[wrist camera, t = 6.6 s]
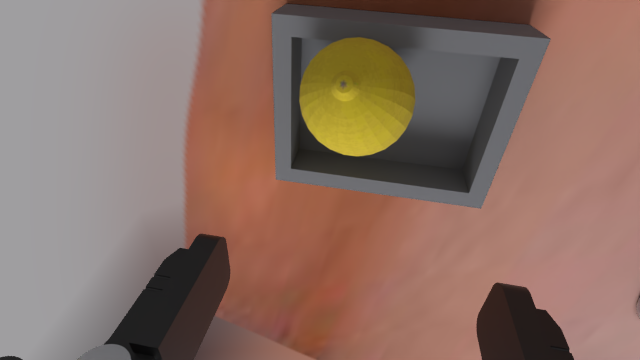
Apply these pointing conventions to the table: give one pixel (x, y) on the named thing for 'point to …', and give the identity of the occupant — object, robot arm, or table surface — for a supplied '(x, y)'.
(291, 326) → the table surface
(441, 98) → the gray open tray
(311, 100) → the lemon
